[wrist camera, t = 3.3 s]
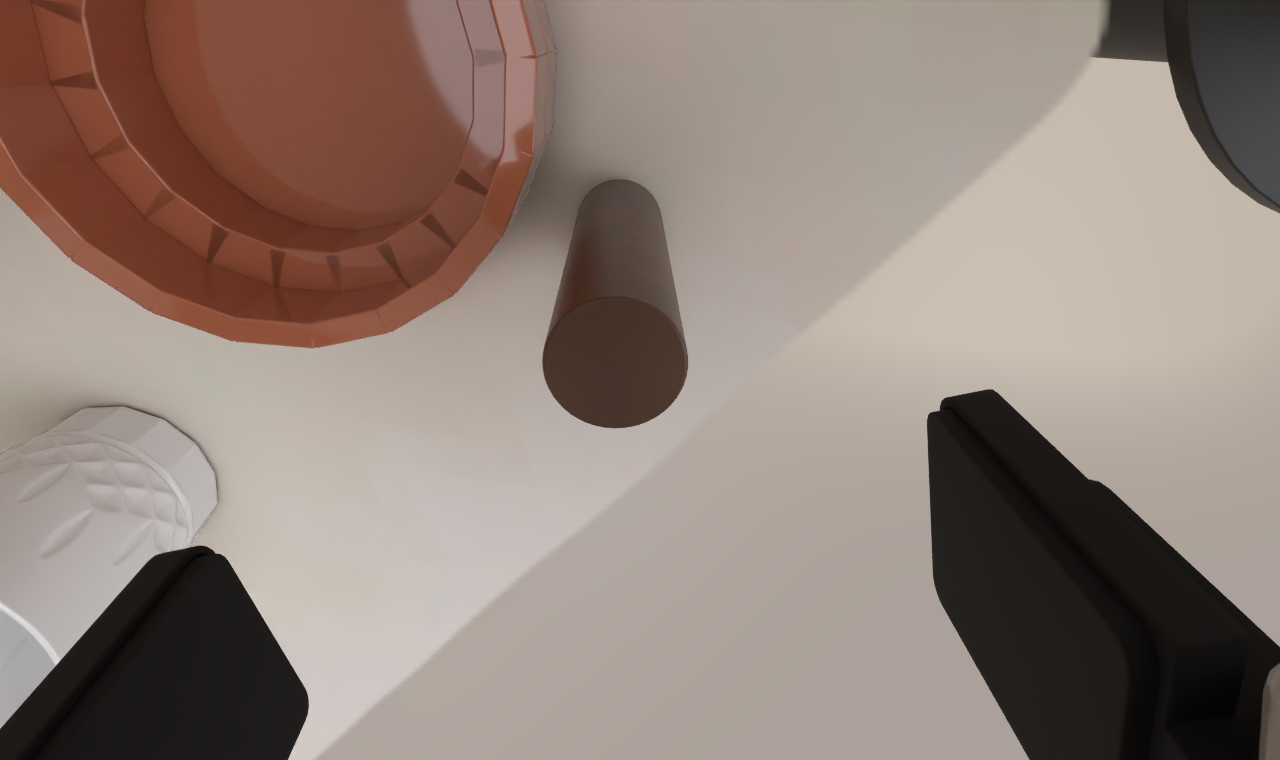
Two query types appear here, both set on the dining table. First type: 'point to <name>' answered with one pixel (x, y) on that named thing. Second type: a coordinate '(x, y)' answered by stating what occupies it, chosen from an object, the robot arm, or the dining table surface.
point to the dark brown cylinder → (616, 314)
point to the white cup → (86, 529)
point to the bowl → (275, 151)
